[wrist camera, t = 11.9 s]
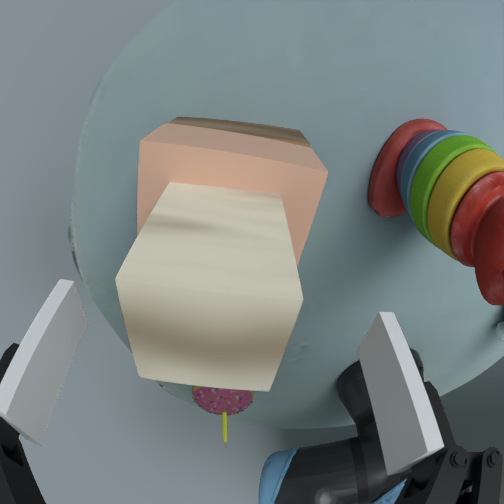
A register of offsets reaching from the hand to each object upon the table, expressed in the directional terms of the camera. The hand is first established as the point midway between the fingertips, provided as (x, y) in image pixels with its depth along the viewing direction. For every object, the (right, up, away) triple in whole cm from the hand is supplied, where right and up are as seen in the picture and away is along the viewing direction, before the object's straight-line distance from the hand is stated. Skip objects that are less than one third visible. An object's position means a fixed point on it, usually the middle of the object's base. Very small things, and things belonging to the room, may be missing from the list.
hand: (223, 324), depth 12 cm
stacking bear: (+17, +11, +12) cm, 24 cm away
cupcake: (-3, -14, +30) cm, 33 cm away
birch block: (-1, +4, +5) cm, 7 cm away
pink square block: (-1, +7, +9) cm, 12 cm away
